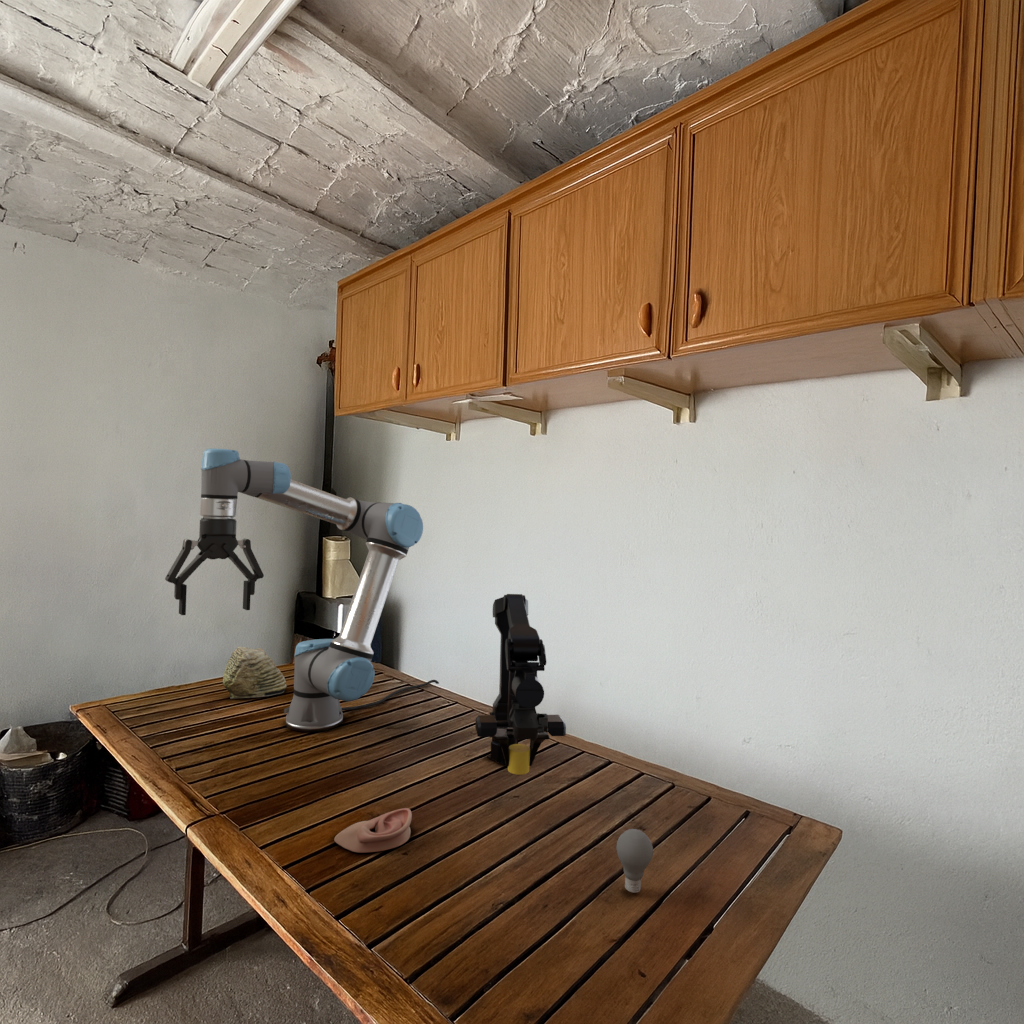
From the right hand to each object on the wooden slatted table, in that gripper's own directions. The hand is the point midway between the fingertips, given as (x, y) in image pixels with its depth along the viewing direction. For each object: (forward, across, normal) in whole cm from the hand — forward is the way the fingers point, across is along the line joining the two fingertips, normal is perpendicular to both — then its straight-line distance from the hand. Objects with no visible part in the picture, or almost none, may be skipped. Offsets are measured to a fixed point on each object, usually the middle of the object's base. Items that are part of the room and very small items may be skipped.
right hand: (518, 765), depth 135 cm
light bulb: (+8, +14, -32) cm, 36 cm away
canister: (+1, 0, 0) cm, 1 cm away
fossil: (+8, -71, +75) cm, 104 cm away
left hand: (-28, -68, +19) cm, 76 cm away
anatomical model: (+8, -29, -12) cm, 33 cm away
